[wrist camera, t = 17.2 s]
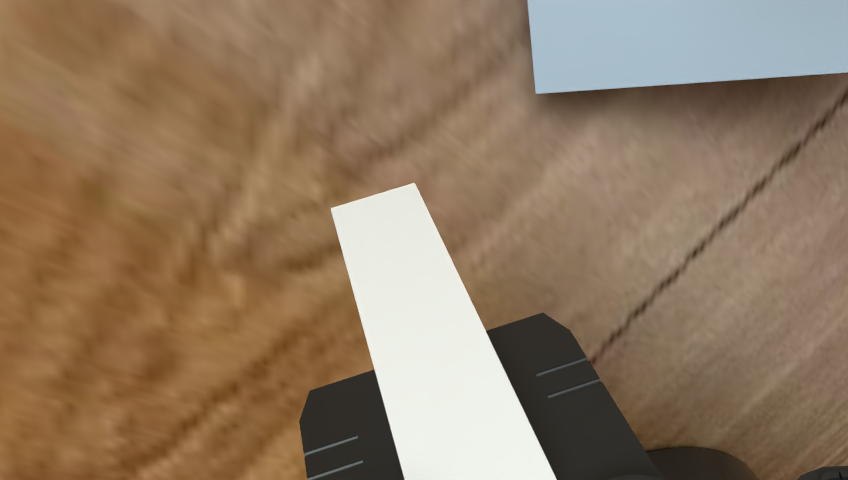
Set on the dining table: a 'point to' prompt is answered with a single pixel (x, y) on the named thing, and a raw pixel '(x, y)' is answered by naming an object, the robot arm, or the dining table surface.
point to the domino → (682, 41)
